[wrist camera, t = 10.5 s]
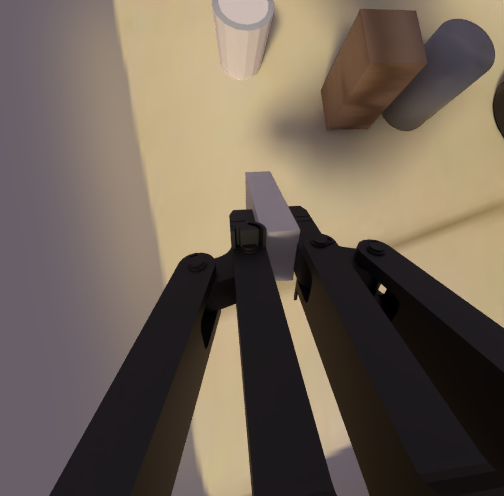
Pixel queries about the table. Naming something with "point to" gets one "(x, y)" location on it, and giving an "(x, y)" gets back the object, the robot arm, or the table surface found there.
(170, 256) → the table surface
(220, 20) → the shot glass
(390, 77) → the walnut block
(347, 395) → the robot arm
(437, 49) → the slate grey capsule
